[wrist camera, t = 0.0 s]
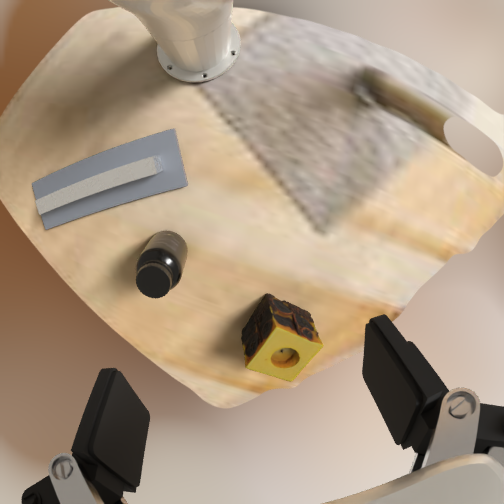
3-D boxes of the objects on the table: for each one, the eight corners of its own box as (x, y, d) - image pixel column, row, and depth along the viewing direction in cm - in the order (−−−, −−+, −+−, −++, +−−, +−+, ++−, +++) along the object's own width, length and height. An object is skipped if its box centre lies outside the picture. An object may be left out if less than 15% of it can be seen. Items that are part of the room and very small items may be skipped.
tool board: (35, 182, 39) (31, 183, 38) (175, 128, 39) (173, 128, 38) (48, 227, 42) (45, 229, 41) (188, 184, 42) (187, 185, 41)
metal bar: (47, 195, 39) (35, 200, 35) (159, 154, 39) (152, 156, 35) (51, 208, 40) (39, 214, 36) (163, 170, 40) (157, 173, 36)
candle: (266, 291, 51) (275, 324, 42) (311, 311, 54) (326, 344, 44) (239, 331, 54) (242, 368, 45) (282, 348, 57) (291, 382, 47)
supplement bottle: (185, 271, 48) (174, 310, 37) (146, 263, 47) (126, 300, 36) (191, 233, 46) (181, 265, 35) (151, 225, 44) (129, 254, 33)
